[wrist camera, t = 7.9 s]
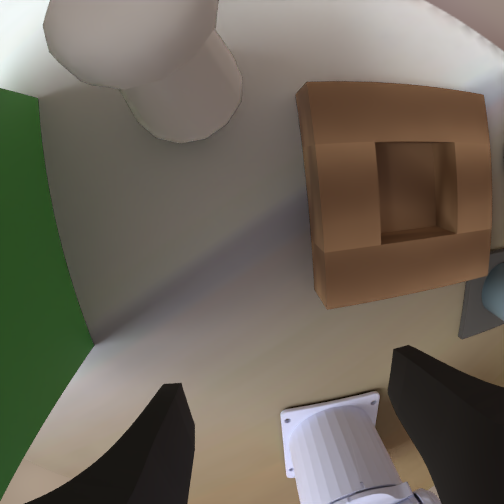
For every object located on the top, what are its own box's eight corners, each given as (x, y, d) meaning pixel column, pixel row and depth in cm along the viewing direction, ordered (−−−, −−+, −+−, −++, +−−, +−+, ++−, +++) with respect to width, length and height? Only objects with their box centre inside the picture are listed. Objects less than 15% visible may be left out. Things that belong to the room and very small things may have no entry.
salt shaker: (233, 45, 16) (237, -112, 4) (249, 135, 18) (283, 68, 5) (137, 66, 16) (18, -45, 4) (149, 154, 18) (5, 143, 5)
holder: (463, 262, 21) (487, 275, 18) (314, 289, 20) (327, 309, 17) (457, 99, 17) (483, 94, 14) (295, 94, 17) (306, 81, 14)
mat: (509, 317, 22) (513, 319, 22) (458, 336, 22) (461, 339, 22) (520, 244, 21) (525, 246, 20) (468, 255, 20) (472, 257, 20)
